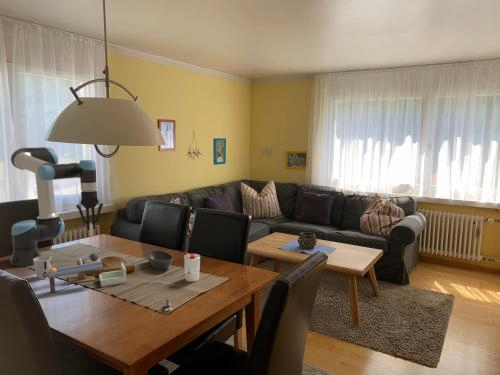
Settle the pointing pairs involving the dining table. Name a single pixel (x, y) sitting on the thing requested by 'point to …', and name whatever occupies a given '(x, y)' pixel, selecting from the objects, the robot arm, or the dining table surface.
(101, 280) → the box
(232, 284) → the dining table surface
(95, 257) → the lever
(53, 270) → the ball
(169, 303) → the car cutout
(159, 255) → the bowl
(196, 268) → the white can
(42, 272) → the cup
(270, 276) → the dining table surface
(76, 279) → the stand
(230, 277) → the dining table surface
